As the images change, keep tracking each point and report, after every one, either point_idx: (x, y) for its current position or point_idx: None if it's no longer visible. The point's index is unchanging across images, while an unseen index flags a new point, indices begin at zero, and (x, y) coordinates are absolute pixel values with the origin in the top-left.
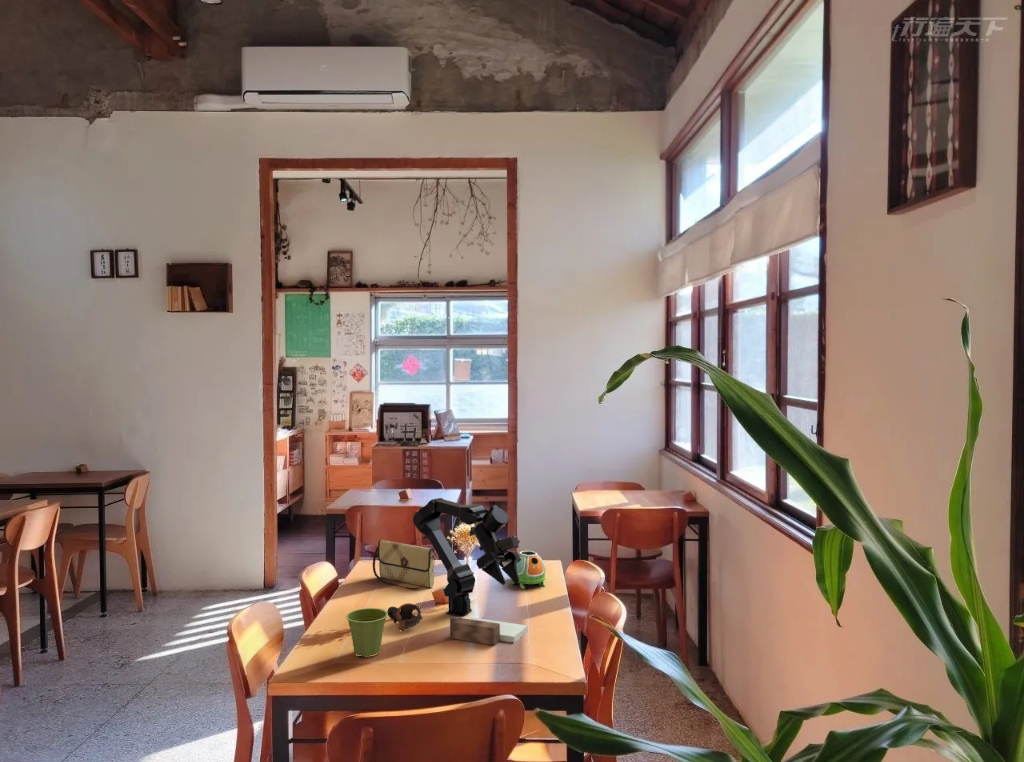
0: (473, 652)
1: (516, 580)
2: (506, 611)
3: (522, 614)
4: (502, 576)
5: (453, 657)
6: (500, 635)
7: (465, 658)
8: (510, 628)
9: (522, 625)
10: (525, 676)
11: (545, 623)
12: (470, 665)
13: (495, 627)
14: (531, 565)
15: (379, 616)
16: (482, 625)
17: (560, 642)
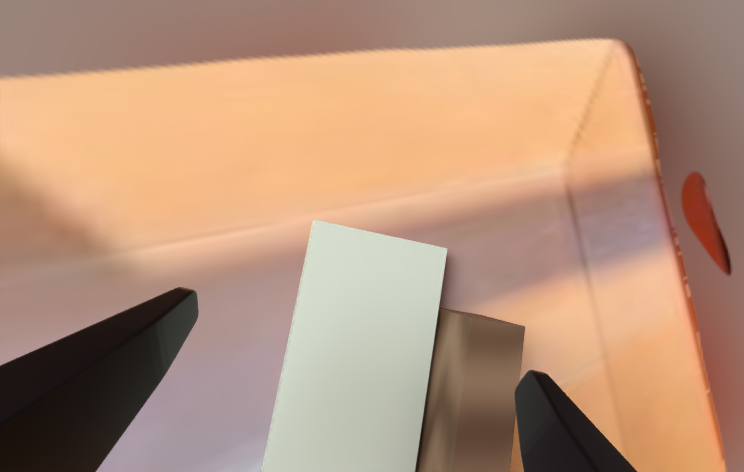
0: (537, 365)
1: (180, 324)
2: None
3: (60, 300)
4: (610, 452)
5: None
6: (436, 309)
7: (580, 372)
8: (364, 288)
9: (317, 243)
10: (632, 168)
11: (194, 160)
12: (614, 337)
13: (508, 324)
14: None
15: None
16: (508, 390)
17: (398, 85)
